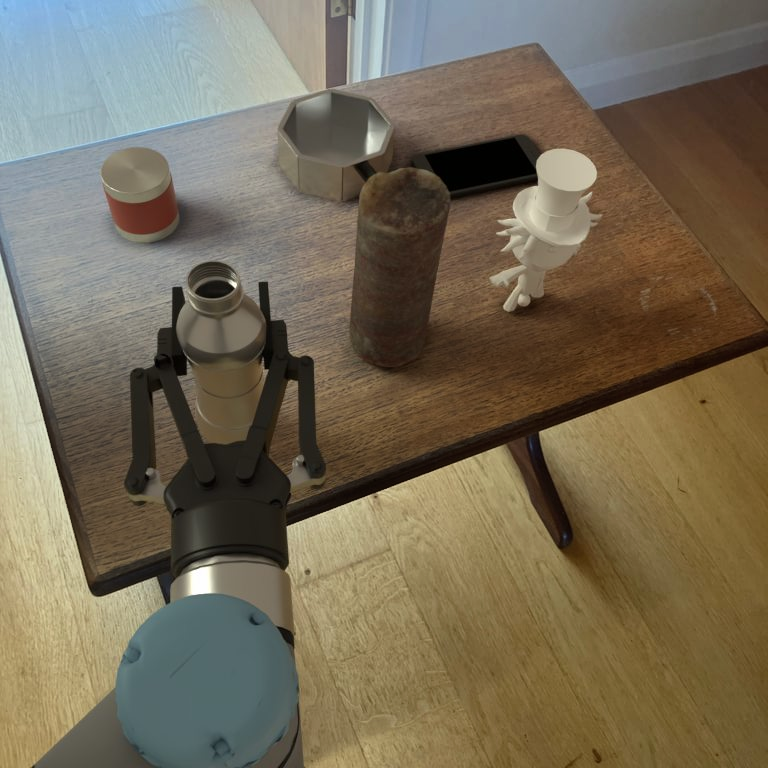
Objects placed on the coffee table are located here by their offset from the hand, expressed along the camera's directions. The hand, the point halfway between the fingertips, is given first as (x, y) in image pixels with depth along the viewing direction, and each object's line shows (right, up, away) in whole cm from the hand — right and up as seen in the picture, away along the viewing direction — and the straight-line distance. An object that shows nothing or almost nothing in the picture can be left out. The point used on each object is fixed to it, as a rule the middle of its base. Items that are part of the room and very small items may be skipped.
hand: (222, 295), depth 65 cm
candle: (+13, -3, +15) cm, 20 cm away
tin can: (-12, +10, +22) cm, 27 cm away
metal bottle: (0, -11, +7) cm, 13 cm away
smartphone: (+24, +18, +29) cm, 41 cm away
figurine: (+27, +1, +19) cm, 33 cm away
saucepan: (+9, +16, +27) cm, 33 cm away
